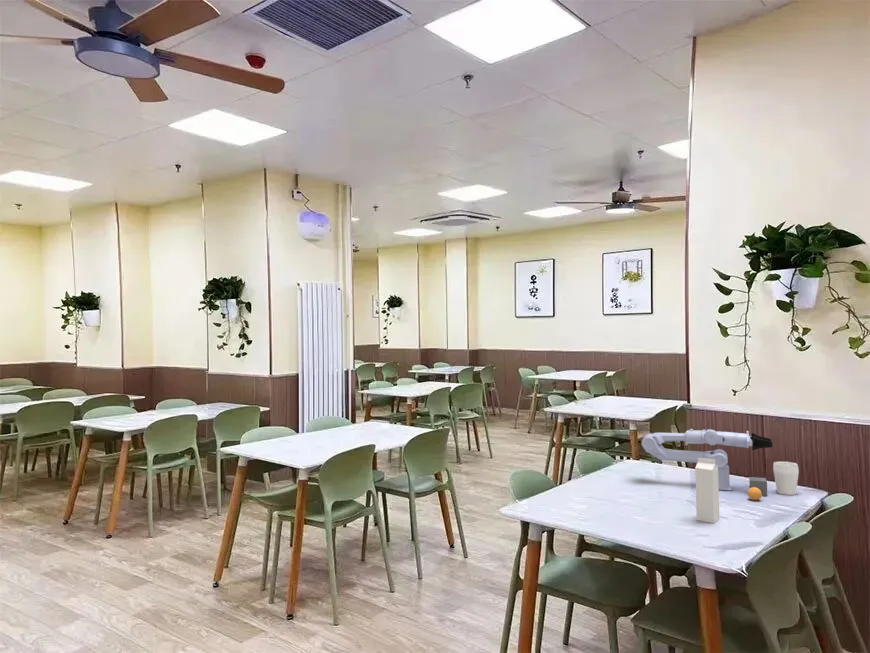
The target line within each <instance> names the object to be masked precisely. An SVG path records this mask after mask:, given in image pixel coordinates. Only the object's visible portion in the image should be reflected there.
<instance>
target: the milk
mask: <svg viewBox="0 0 870 653" xmlns="http://www.w3.org/2000/svg"><path fill="white" fill-rule="evenodd" d="M694 471H695V472H694V473H695V474H694V475H695V477H694V478H695V504H696V505H695V506H696V507H695V508H696V509H695V510H696V511H695V512H696V513H695V514H696V520H697V521H699V522H704V523H709V524H715V523H716V522H718V521H719V520H720V494H719V493H720V490H719V483H718V466H717V465H716V464H715V460H714V459H707V458H698V463H696V466H695V468H694Z"/></svg>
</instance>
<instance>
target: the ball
mask: <svg viewBox="0 0 870 653" xmlns="http://www.w3.org/2000/svg"><path fill="white" fill-rule="evenodd" d="M747 496H748V498H749V499H750V500H753V501H759V500H760V499H761V498H762V497H763V496H762V493H761V491H760V490H759V489H758V488H756V487H752V488H750V487H749V489H747Z"/></svg>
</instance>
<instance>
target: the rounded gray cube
mask: <svg viewBox="0 0 870 653" xmlns="http://www.w3.org/2000/svg"><path fill="white" fill-rule="evenodd" d="M748 478H749V480H748V482H749V484H748V485H749V489H750V488H752V487H756V488H758V489H759V490H760V491H761V493H762V496H761V497H768V481H767V478H765V477H758V476H757V477H755V476H749V477H748Z"/></svg>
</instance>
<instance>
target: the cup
mask: <svg viewBox="0 0 870 653" xmlns="http://www.w3.org/2000/svg"><path fill="white" fill-rule="evenodd" d="M772 468H773V470H772V471H773V476H774V481H775V487H776V491H777V494H781V495H785V496H794V495H796V494H797V489H798V488H797V487H798V481H799V480H798V479H799V474H800V473H799V472H800V471H799V464H798V463H797V462H792V461H784V460H783V461H774V462H773V467H772Z"/></svg>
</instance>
